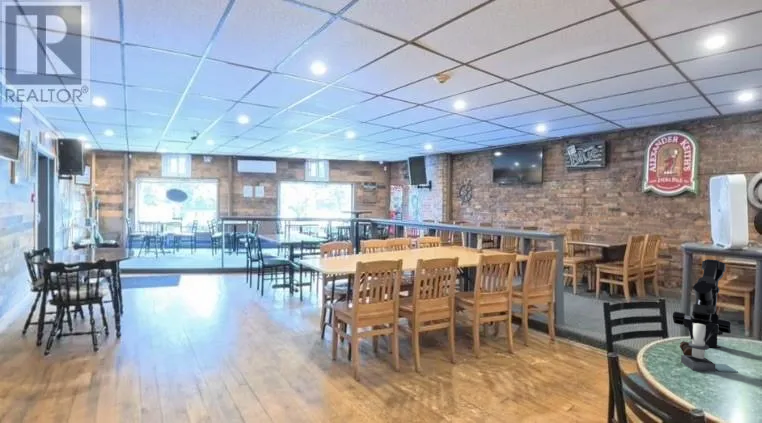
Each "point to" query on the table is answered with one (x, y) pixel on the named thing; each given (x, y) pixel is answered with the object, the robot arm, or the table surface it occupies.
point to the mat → (724, 368)
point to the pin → (698, 341)
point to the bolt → (686, 348)
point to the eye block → (697, 363)
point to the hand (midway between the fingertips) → (698, 340)
